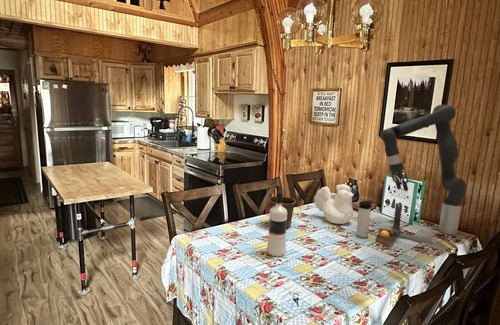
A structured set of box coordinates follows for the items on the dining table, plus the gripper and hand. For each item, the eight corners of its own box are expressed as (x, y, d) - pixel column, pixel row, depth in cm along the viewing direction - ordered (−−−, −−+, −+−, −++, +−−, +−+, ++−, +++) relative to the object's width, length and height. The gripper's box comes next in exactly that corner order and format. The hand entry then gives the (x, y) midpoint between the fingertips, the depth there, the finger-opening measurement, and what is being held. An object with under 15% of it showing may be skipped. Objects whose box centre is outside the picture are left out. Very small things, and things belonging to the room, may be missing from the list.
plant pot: (298, 225, 190) (300, 199, 188) (287, 233, 177) (288, 205, 174) (274, 219, 199) (276, 194, 196) (261, 227, 185) (263, 200, 183)
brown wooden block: (377, 234, 180) (378, 227, 179) (394, 237, 176) (395, 230, 176) (376, 242, 169) (376, 234, 169) (393, 245, 166) (394, 238, 165)
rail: (386, 232, 184) (386, 230, 183) (431, 240, 174) (431, 238, 174) (385, 235, 179) (385, 233, 179) (432, 244, 169) (432, 241, 169)
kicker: (390, 232, 183) (394, 202, 180) (400, 234, 180) (404, 203, 178) (389, 241, 170) (393, 208, 167) (399, 243, 168) (403, 210, 165)
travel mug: (369, 239, 173) (373, 203, 170) (356, 237, 174) (360, 202, 171) (367, 234, 179) (371, 200, 176) (355, 233, 180) (358, 199, 177)
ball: (384, 227, 175) (391, 233, 174) (378, 233, 177) (385, 239, 176) (383, 230, 171) (391, 236, 169) (377, 236, 173) (384, 242, 171)
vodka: (282, 258, 146) (286, 195, 141) (263, 254, 150) (266, 193, 145) (288, 250, 155) (291, 191, 150) (270, 247, 158) (272, 188, 153)
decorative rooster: (357, 223, 197) (360, 184, 193) (342, 229, 187) (345, 187, 183) (324, 213, 216) (327, 177, 212) (309, 217, 206) (311, 179, 202)
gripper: (407, 161, 177) (415, 189, 177) (395, 160, 191) (403, 186, 191) (394, 164, 177) (402, 192, 177) (383, 164, 191) (391, 190, 191)
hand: (402, 189), depth 184 cm, fingers open, 8 cm apart
